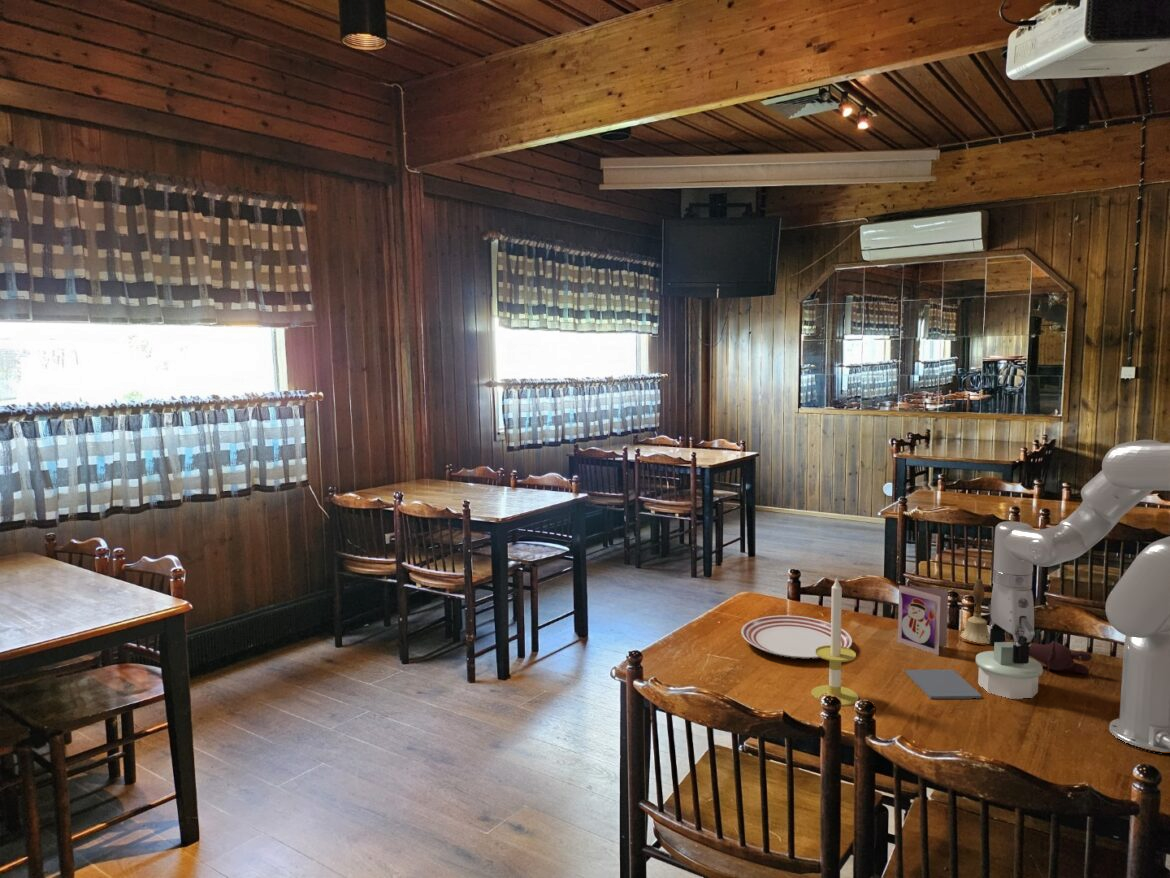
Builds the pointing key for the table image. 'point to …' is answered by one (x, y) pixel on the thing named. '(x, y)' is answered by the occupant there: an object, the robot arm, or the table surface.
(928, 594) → the greeting card
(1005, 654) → the lid
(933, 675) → the mat
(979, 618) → the hand bell
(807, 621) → the dinner plate
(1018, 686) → the bowl
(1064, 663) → the icecream
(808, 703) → the table surface
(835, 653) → the candle
